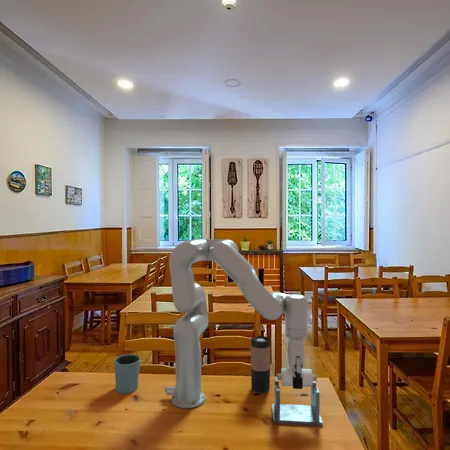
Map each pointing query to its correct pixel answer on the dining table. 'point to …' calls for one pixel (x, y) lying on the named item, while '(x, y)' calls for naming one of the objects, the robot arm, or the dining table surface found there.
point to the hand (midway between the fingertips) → (296, 383)
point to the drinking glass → (127, 373)
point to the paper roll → (288, 375)
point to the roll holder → (297, 409)
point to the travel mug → (260, 364)
